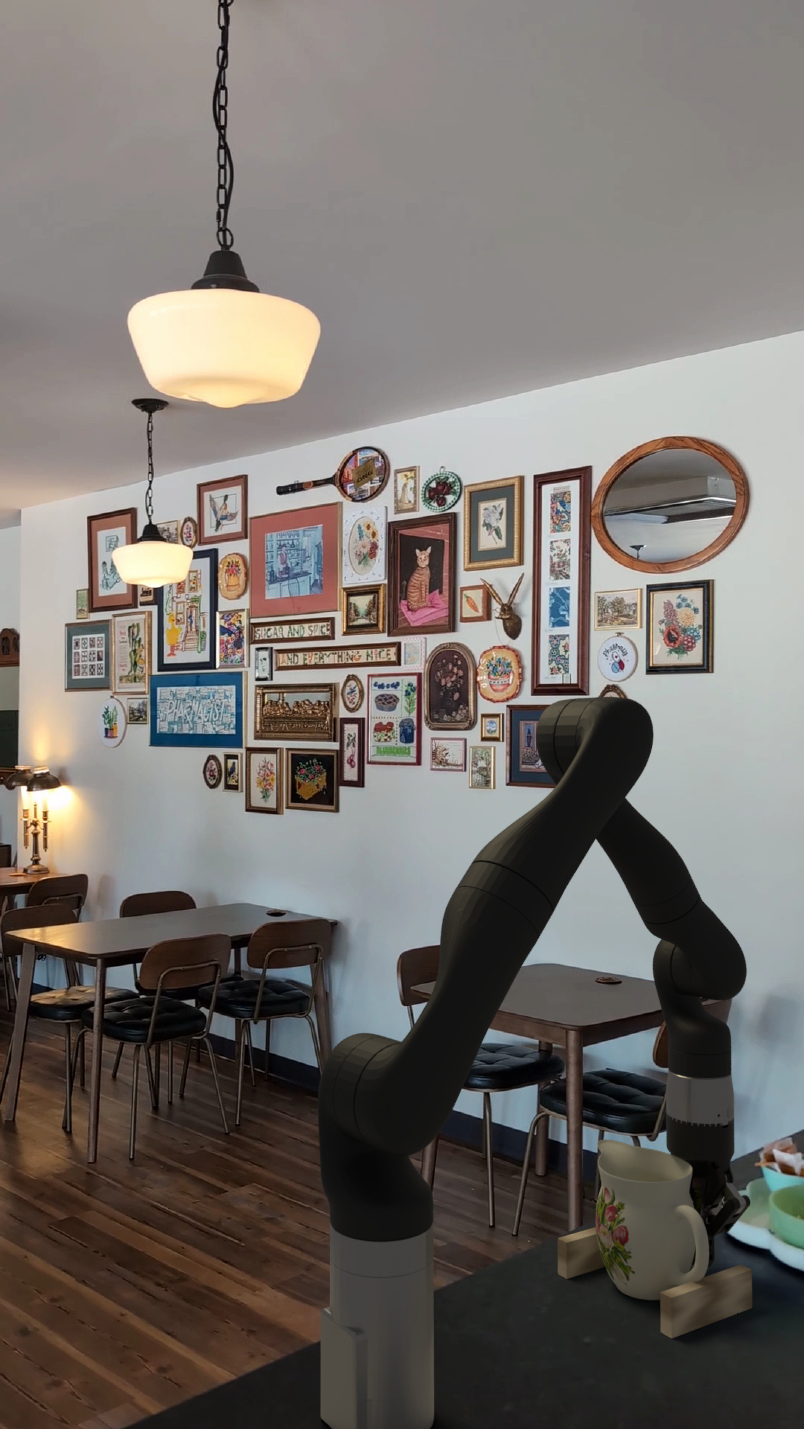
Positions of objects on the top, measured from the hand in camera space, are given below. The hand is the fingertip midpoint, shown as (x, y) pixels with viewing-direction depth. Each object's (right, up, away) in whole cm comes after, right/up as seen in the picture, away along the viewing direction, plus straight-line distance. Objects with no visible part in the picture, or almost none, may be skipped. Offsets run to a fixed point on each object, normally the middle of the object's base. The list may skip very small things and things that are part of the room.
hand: (700, 1265), depth 132 cm
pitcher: (-6, -1, -4) cm, 8 cm away
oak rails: (-6, -1, -4) cm, 8 cm away
